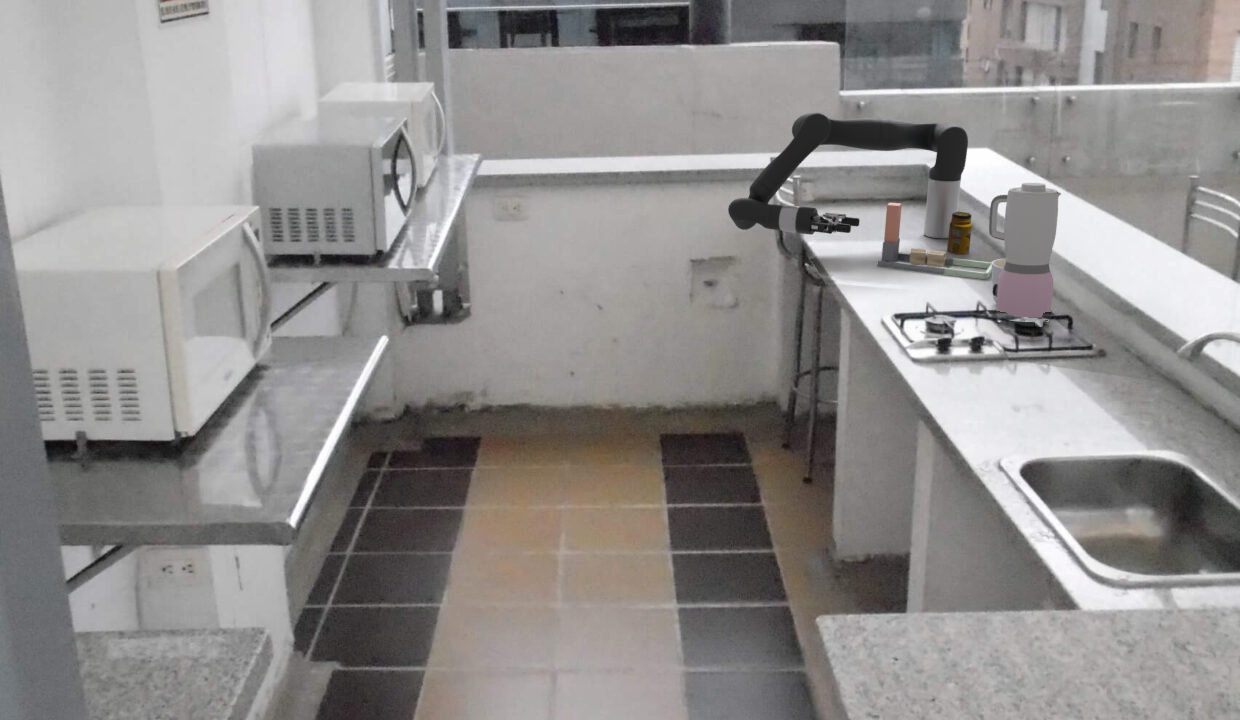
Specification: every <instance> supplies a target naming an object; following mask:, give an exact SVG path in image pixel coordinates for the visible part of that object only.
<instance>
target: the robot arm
mask: <svg viewBox="0 0 1240 720" xmlns="http://www.w3.org/2000/svg"><path fill="white" fill-rule="evenodd" d="M791 134H792V137H793V138H792V140H791V141H790V142H789V143H788V145H787V146H786V148H784V149H783V150H782V151H781V152H780V154H778V155H777V156H776V157H775V158H774V159H773V160H771V162H770V163H768V164H767V166H765V168H764V169H763V170H762V171H761V172H760V174H759V175H758V176H757V177H756V178H755V180H754V181H753V182H752V183H751V184H750V187H749V194H748V197H739V198H735V199H734V200H732V201H731V202H730V204H729V205H728V210H727V211H728V215H729V217H730V218H731V220H732V222H733V223H734V225H735V226H736V227H737V228H738V229H740V230H743V231H745V230H749V229H752V228H753V227H755V226H756V225H758V224H759V225H760V226H761V227H762V228H765V229H767V230H775V231H782V232H786V233H794V234H800V235H801V234H802V235H814V234H815V232H816V233H822V234H829V235H831V234H833V233H834V234H835V233H845V234H846V233H847V234H850V233H851V231H852V227H858V226H860V218H858V217H850V216H847V214H846V213H843V214H842V213H832V212H825V213H823V214H822V215H819V212H818V209H817V208H816V207H810V206H800V205H783V204H782V205H781V204H769V202H770V201H771V200H772V198H774V196H775V195H776V194H777V192H779V190H780V189H781V188H782V187H783V185H784V184H785V183H786V182H787V181H788V179H789V178H790V176H791V175H792V174H793V173H794V172H795V170H796V169H797V168H798V167H799V166H800V165H801V164H802V162H803V161H804V160H806V158H807V157H809V155H811V154H812V152H814V151H815V150H816V149H817V148H818V147H819V146H824V145H826V146H827V145H828V146H832V145H833V146H835V145H836V146H844V147H849V148H853V149H862V150H869V151H879V152H880V151H881V152H891V151H893V152H894V151H901V150H906V149H918V150H925V151H929V152H933V153H936V155H935V156H936V157H935V163H934V165H933V166H932V167H931V168H930V169H929V173H928V185H927V193H926V195H927V197H926V206H925V215H924V227H923V235H924V236H925V235H926V237H929V238H932V239H933V238H934V239H948V236H949V226H950V223H951V221H952V220H951V219H952V214H953V213H955V212H959V201H960V192H961V181H962V176H963V175H962V174H963V172H964V170H965V167H966V160H967V154H968V153H967V152H968V148H969V147H968V146H969V136H968V134H967V132H966V130H965V128H962V127H961V126H959V125H956V124H953V123H950V122H931V123H929V122H925V123H922V122H921V123H919V122H917V123H916V122H909V121H905V120H898V119H893V118H881V117H857V118H847V119H835V118H828V116H827V115H826V114H824V113H822V112H814V111H813V112H809V113H805V114H803V115H799V117H798V118H797V119H796V120H794V123H792V127H791Z"/></svg>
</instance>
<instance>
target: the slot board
mask: <svg viewBox="0 0 1240 720" xmlns="http://www.w3.org/2000/svg"><path fill="white" fill-rule="evenodd" d="M954 258H955V257H947V256H946V259H945V267H939V266H930V265H927V259H928V254H926V259H925V265H922V264H913V263H909V262H910V252H903V251H899V254H898V260H897V261H888V260H882V259H877V261H876V267H879V268H880V267H881V268H889V269H895V270H896V269H897V270H904V271H914V272H921V273H930V274H940V275H945V274H944V271H945V268H950V269H951V267H952V266H953V259H954Z"/></svg>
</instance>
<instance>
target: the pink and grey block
mask: <svg viewBox="0 0 1240 720" xmlns="http://www.w3.org/2000/svg"><path fill="white" fill-rule="evenodd" d="M902 207H903V206H902V203H899V202H897V203H896V202H888V204H886V214H885V227H884V237H883V242H882V247H881V248H882V251H881V260H888V261H897V260H898V254H899V252H900V230H901V229H900V228H901V227H900V226H901V216H902Z"/></svg>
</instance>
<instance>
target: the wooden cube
mask: <svg viewBox="0 0 1240 720" xmlns="http://www.w3.org/2000/svg"><path fill="white" fill-rule="evenodd" d="M909 253H910V262H909V263H913V264H922V265H925V259H926V255H927V249H926V248H925V249H924V248H910V252H909Z"/></svg>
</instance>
